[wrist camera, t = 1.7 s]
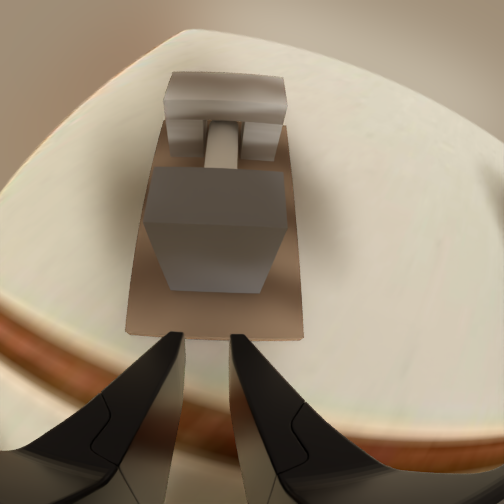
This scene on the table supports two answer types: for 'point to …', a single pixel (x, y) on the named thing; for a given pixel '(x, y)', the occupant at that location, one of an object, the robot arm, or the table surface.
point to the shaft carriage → (216, 219)
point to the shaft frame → (249, 157)
